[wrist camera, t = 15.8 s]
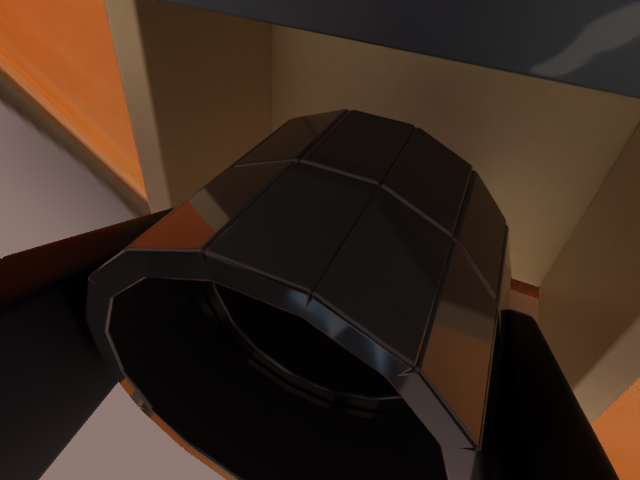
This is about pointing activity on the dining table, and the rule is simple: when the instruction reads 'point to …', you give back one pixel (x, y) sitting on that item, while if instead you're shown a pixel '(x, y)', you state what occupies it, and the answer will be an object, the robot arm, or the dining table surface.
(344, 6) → the cabinet
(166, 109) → the drawer
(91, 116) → the dining table surface
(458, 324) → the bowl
